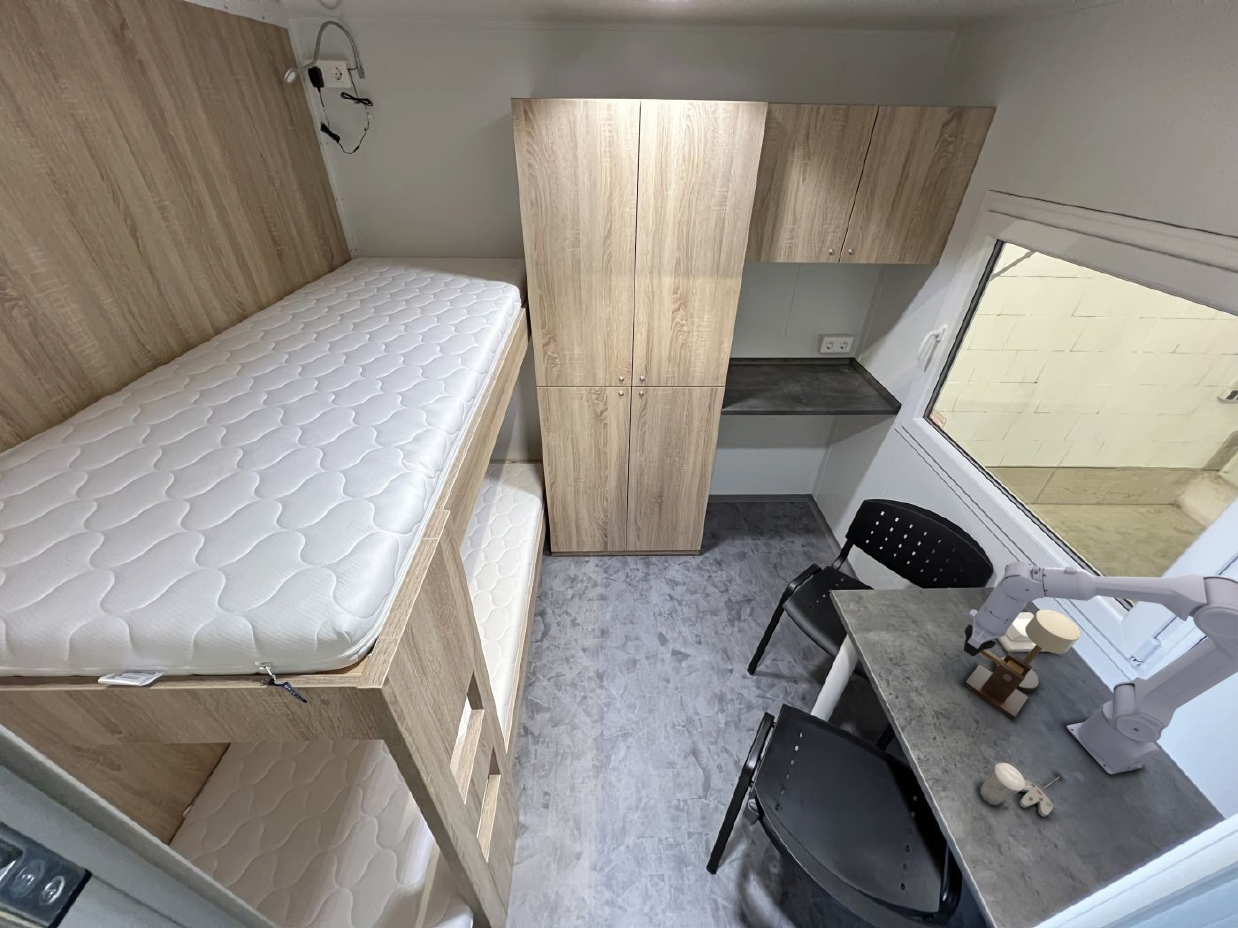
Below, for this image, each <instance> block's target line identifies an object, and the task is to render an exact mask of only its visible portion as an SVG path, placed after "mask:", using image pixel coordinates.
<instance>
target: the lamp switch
mask: <svg viewBox="0 0 1238 928" xmlns="http://www.w3.org/2000/svg"><path fill="white" fill-rule="evenodd" d="M965 641H966V639H965V640H964V642H965ZM979 654H982V655H983V656H984V657H986V658H987V659H989V660H990V661H992V662H993V663H994V664H995V663H996V664H998V665H1000V664H1001V663H1002V662H1003V663H1004V664H1006V665H1007V666H1009V667H1011V668H1012V669H1014V670H1015V671H1017V672H1018V673H1020V674H1022V672H1023V671H1024V669H1023V668H1022V667H1020V666H1019V665H1017V664H1016V663H1014V662H1013V661H1011V660H1009V661H1008V663H1007V662H1005V661H1004V660H1002V659H1001V657H1000V656H998V655H996V654H994V653H993V652H992V651H990V649H985V650H982V651H981V652H979Z"/></svg>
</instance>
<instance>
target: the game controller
mask: <svg viewBox="0 0 1238 928" xmlns="http://www.w3.org/2000/svg"><path fill="white" fill-rule="evenodd" d="M1060 778H1061V777H1060V776H1057V778H1055V779H1053V781H1051V782H1050V783H1048V784H1046V785H1045V786H1044V787H1043V788H1041V789H1040V788H1039V787H1038V786H1037V785H1036V784H1034V783H1033V782H1032V781H1030V780H1028V779H1025V778H1024V780H1025V786H1032V785H1035V787H1031V788H1023V789H1022V790H1021V791H1020V792H1022V793H1025V794H1024V795H1023V796H1022V798H1021V799H1020V800H1019V806H1020V807H1021V808H1025V809H1026V808H1028V807H1031V806H1034V805H1036V804H1037V811H1038V814H1039V815H1040V816H1041V817H1047V816H1048V815H1050V813H1051V812H1052V810H1053V808H1054V806H1053V805H1054V804H1053V803H1052V801H1051V800H1050V798H1049V797H1048V796H1047V795H1046V793H1044V792H1043V790H1044V789H1046V788H1047V787H1049V786H1050V785H1051V784H1053V783H1054V782H1056V781H1057V780H1058V779H1060Z"/></svg>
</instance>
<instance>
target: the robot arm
mask: <svg viewBox="0 0 1238 928" xmlns="http://www.w3.org/2000/svg"><path fill="white" fill-rule="evenodd" d="M1098 596H1099V597H1106V598H1112V599H1113V598H1114V599H1121V600H1128V601H1135V602H1136V601H1137V602H1143V603H1150V604H1157V605H1158V604H1159V605H1161V606H1163V607H1164V608H1166V609H1167V610H1168V611H1169V612H1171V613H1172V614H1174V615H1175V616H1176V617H1177V618H1179V619H1180V620H1181V621H1183V622H1187V620H1188V617H1191V618H1192V621H1193V624H1194V625H1195V626H1196V628H1197V629H1198V630H1199V631H1200V632H1201V633H1203V634H1204V635H1205V636H1206V638H1205V639H1203V640H1202V641H1200V642H1199V643H1197V644H1196V645H1194V646H1193V647H1191V648H1190V649H1189V650H1187V651H1186V652H1184V653H1182V654H1181V655H1180V656H1178V657H1177V658H1176V659H1174V660H1173V661H1171V662H1170V663H1168V664H1167V665H1166V666H1164V667H1162V668H1161V669H1160V670H1158V671H1157V672H1155V673H1154V674H1152V675H1151V676H1149V677H1148V678H1143V677H1139V676H1136V677H1135V678H1134V679H1132V680H1128V681H1121V682H1118V683H1116V684H1115V685H1114V687H1113V691H1112V692H1113V698H1112V699H1111V700H1108V701H1106V702H1105V703H1104V704H1103V705H1101V706H1100V707H1099V708H1098V709H1096V711H1095V712H1093V713H1092V714H1091V716H1089V717H1088V718H1087V719H1086V720H1085V721H1084V722H1083V721H1082V722H1078V723H1074V724H1068V725H1066V726H1065V727H1066V729H1067V730H1068V732H1069V733H1070V734H1071V735H1072V736H1073V737H1074V738H1075V740H1077V742H1078V743H1079V744H1080V745H1081V746H1082V747H1083V748H1084V749H1085V750H1086V751H1087V753H1089V755H1090V756H1091V757H1092V758H1093V759H1094V760H1095V762H1097V763H1098V764H1099V766H1100V767H1101V768H1103V771H1105V773H1107V774H1108V775H1115V774H1121V773H1124V772H1128V771H1134V770H1138V769H1141V768H1143V765H1145V764H1146V763H1148V762H1149V761H1150V760H1151V759H1153V758H1155V757H1156V756H1158V754H1159V753H1160V749H1159V748H1158V747H1157V745H1156V744H1155V742H1158V741H1159V740H1161V737H1162V732H1163V731H1164V730H1165V729H1167V728H1168V727H1169V726H1170V724H1171V721H1172V720H1173V717H1174V714H1175V712H1176V711H1177V709H1179V708H1180V707H1183V706H1184V705H1186V704H1187V703H1189V702H1190V701H1192V700H1194V699H1195V698H1197V697H1198V696H1199V697H1200V696H1201V695H1203V694H1204V693H1205V692H1207V691H1209V690H1210V689H1212V688H1213V687H1215V686H1217V685H1218V684H1220V683H1221V682H1224V681H1226V679H1228V678H1230V677H1231V676H1233V675H1235V674H1237V673H1238V580H1237V579H1235V578H1233V577H1230V576H1225V575H1220V574H1219V575H1218V574H1209V575H1208V574H1207V575H1203V574H1198V573H1186V574H1181V575H1177V576H1171V577H1160V576H1159V577H1157V576H1156V577H1155V576H1153V577H1152V576H1103V575H1102V576H1098V575H1097V576H1096V575H1094V574H1092V573H1090V572H1089V571H1088V570H1086V569H1085V568H1076V567H1075V566H1065V567H1051V566H1050V567H1049V566H1040V565H1033V564H1032V563H1029V562H1026V561H1014V562H1012V563H1009V564H1006V565H1005V568H1004V575H1003V577H1002V578H1001V579H1000V581H998V583H997V585H996V586H995V587H994V588H993V589H992V591H991V592H990V594H989V595H988V597H987V598H986V600H985V601H984V602H983V604H982V606H981V607H980V608H979V610H977V609H974V608H972V609H971V610H970V611H969V613H968V616H969V617H970V618H972V624H968V625H967V626H966V627H965V629H964V634H965V640H966V641H965V640H964V644H963V651H964V652H965V653H967V654H968V655H970V656H971V657H975V656H977V655H979V654H980V652H981V651H982V650H985V649H987V650H990V649H992V648H994V647H995V646H996V644H997V642H995V641H994V640H996V639H997V638H999V637H1002V636H1004V635H1005V634H1006V633H1007V629H1008V628H1009V627H1010V625H1011V624H1012V623H1013V622H1014V620H1015V619H1016V618H1017V616H1018V615H1019V614H1020V612H1023V610H1024V609H1025V608H1026V606H1027V605H1028V603H1029V602H1033V601H1035V600H1037V599H1043V598H1051V599H1063V600H1073V601H1074V600H1075V601H1083V602H1084V601H1085V602H1087V601H1090V600H1092V599H1093V598H1095V597H1098Z"/></svg>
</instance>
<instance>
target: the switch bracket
mask: <svg viewBox="0 0 1238 928" xmlns="http://www.w3.org/2000/svg"><path fill="white" fill-rule="evenodd" d="M1004 657H1005V658H1004V661H1005V662H1007V663H1008V661H1009V660H1011V661H1013V662H1014V663H1016V664H1017V665H1019V666H1020V667H1022V668H1023V669H1024V671H1023V672H1022V674H1020V673H1018V672H1017V671H1015V670H1014V669H1012V668H1011V667H1009V666H1007V665H1006V664H1004V663H1003V662H1002V663H1001V664H1000V665H999V666H998V667H997V668H996V670H995V669H994V670H993V672H992V671H991V670H989V669H988V668H987V667H985V666H983V665H982V664H980V663H979V664H978V665H977V666H976V668H975V669H974V670H973V671H972V673H971V674H969V676H968V678H967V679H966V680H965V681H964V683H963V686H965V688H968V689H969V690H970V691H971V692H973V693H975V694H976V695H977V696H978V697H980V698H981V699H982V700H984V701H985V702H987V703H988V704H990V705H991V706H992V707H994V708H996V709H997V710H998V711H999V712H1001V713H1002V714H1004V715H1005V716H1007V717H1008V718H1009V719H1011V720H1012V721H1014V720H1015V718H1016V717H1017V715H1018V714H1019V713H1020V711H1021V710H1022V708H1023V706H1024V705H1025V703H1026V702H1027V700H1028V699H1029V696H1028V695H1027V694H1025V693H1024V692H1021V691H1019V690H1017V689H1016V688H1017V687H1018V686H1019V685H1020V683H1021V682H1022V681H1023V680H1024V679H1025V676H1026V674H1027V673H1028V672H1029V671H1030V670H1031V668H1032V669H1033V666H1032V665H1030V664H1027V663H1026V662H1024V661H1023V660H1024V659H1023V660H1022V659H1021V658H1019V657H1018V656H1016V655H1015V654H1014V653H1013V652H1007V654H1006V656H1004Z"/></svg>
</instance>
